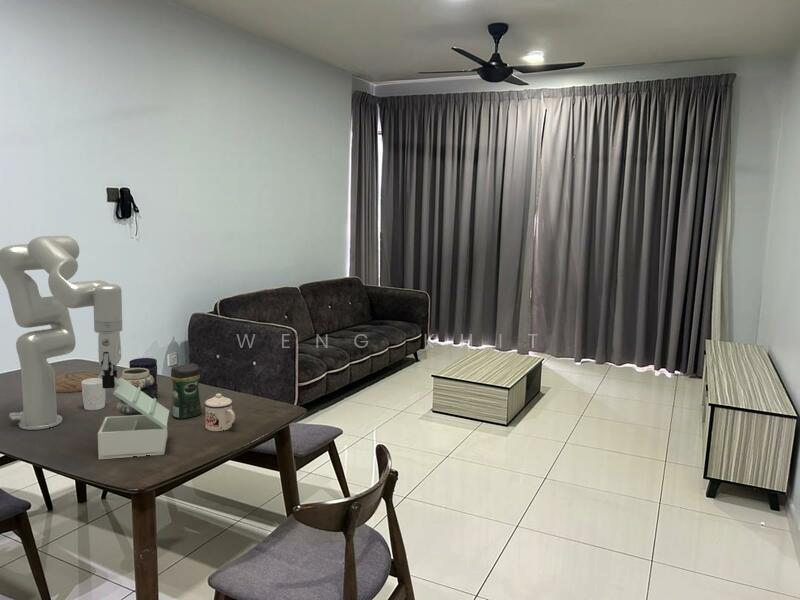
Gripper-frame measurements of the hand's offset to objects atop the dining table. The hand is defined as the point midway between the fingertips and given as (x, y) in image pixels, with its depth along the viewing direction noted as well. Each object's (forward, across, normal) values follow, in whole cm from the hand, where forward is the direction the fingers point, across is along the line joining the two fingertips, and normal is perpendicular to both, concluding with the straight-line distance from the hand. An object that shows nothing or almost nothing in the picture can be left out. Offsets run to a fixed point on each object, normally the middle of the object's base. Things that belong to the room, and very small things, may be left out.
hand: (109, 384), depth 182 cm
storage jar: (+21, +48, -4) cm, 52 cm away
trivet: (+22, +72, +25) cm, 79 cm away
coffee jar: (+21, +27, -20) cm, 40 cm away
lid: (+5, 0, -6) cm, 8 cm away
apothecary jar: (+21, +24, -4) cm, 32 cm away
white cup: (+21, +41, +12) cm, 47 cm away
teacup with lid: (+21, +12, -32) cm, 40 cm away
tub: (+20, 0, -6) cm, 21 cm away
